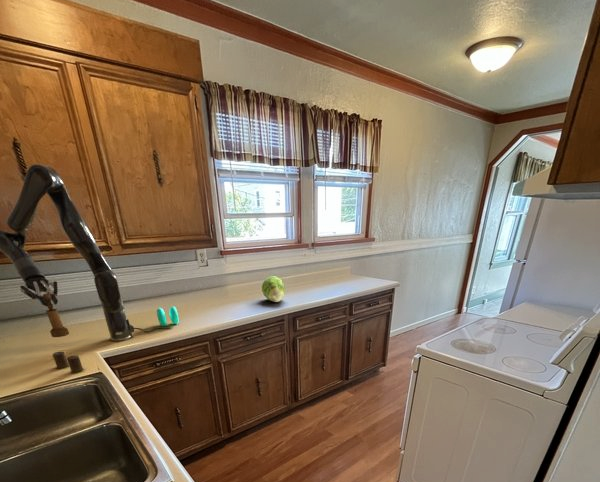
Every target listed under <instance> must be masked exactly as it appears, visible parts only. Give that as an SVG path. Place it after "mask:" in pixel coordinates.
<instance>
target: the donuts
mask: <svg viewBox="0 0 600 482" xmlns="http://www.w3.org/2000/svg"><path fill="white" fill-rule="evenodd" d="M168 311H169V312H168V314H169V318H170V321H171V323H172V324H174V325H178V324H179V322H180V319H179V314H178V310H177V308H176V307H175V306H170V307H169V310H168ZM156 317H157V320H158V323H159V325H160V326H161V327H165V326H166V325H167V316H166V312H165V311H164V309H163V308H161V307H158V308H156Z"/></svg>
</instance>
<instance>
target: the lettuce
mask: <svg viewBox="0 0 600 482" xmlns="http://www.w3.org/2000/svg"><path fill="white" fill-rule="evenodd" d="M285 290H286V288H285V284H284V283H283V281H282V279H281V278H280V277H278V276H275V275H273V276H268V277H267V278H265V279H264V281H262V285H261V292H262V294H263V295H264V297H265V298H266V299H267V300H268V301H270V302H273V303H278V302H280V301H281V300H282V299H283V298H284V295H285Z"/></svg>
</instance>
